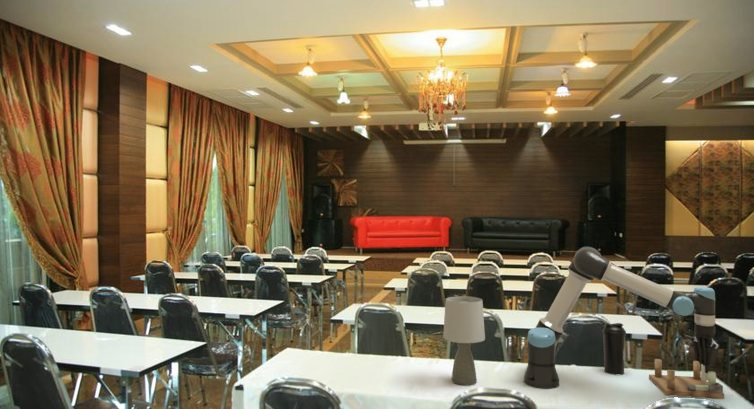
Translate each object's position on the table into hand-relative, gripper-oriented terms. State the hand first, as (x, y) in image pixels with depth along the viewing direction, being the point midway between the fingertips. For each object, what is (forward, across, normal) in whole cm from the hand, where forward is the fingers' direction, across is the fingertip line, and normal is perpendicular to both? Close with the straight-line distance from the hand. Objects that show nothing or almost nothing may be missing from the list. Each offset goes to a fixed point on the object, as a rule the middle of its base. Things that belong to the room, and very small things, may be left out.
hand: (705, 379), depth 225 cm
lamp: (+5, -35, -94) cm, 101 cm away
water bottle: (+6, -33, -19) cm, 39 cm away
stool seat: (+5, -6, -5) cm, 9 cm away
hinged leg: (+3, +2, -4) cm, 5 cm away
